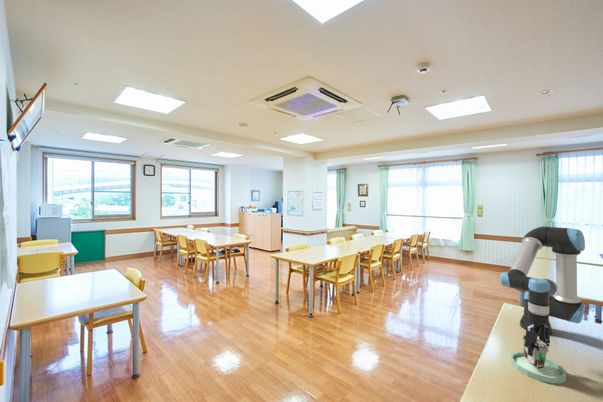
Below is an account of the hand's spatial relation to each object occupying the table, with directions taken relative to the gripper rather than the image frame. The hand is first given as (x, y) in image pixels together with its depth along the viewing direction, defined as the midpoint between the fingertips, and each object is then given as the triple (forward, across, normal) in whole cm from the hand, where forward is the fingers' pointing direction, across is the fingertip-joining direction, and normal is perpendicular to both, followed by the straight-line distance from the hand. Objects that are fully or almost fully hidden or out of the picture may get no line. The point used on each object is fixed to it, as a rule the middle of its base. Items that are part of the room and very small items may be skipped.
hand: (536, 360), depth 130 cm
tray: (+4, 0, 0) cm, 4 cm away
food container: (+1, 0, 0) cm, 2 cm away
